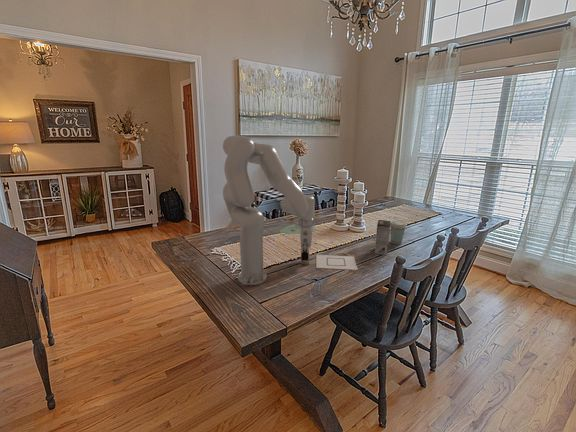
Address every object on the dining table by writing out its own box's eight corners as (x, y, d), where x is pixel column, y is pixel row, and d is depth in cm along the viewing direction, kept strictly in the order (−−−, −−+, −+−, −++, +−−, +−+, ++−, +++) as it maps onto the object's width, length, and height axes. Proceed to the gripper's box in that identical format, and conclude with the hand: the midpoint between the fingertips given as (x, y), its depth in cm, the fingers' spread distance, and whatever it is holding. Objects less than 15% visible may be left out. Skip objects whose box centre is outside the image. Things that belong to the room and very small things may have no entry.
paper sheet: (357, 270, 141) (357, 269, 140) (316, 268, 142) (316, 267, 142) (353, 257, 155) (353, 256, 155) (316, 255, 157) (316, 254, 157)
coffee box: (376, 247, 168) (378, 219, 163) (388, 249, 166) (391, 220, 161) (374, 253, 160) (376, 224, 155) (386, 255, 157) (390, 225, 153)
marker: (309, 265, 145) (309, 242, 142) (300, 265, 145) (300, 241, 142) (309, 261, 149) (310, 238, 146) (300, 261, 149) (301, 238, 146)
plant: (295, 238, 182) (296, 224, 180) (272, 230, 196) (272, 217, 194) (322, 229, 199) (322, 216, 197) (299, 222, 213) (299, 210, 211)
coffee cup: (390, 239, 181) (392, 219, 177) (405, 241, 176) (407, 222, 173) (386, 243, 174) (388, 223, 170) (402, 246, 169) (404, 226, 166)
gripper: (313, 228, 133) (312, 264, 137) (314, 216, 149) (313, 249, 154) (296, 227, 133) (296, 263, 138) (299, 216, 150) (298, 248, 155)
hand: (305, 256), depth 146 cm, fingers open, 9 cm apart
